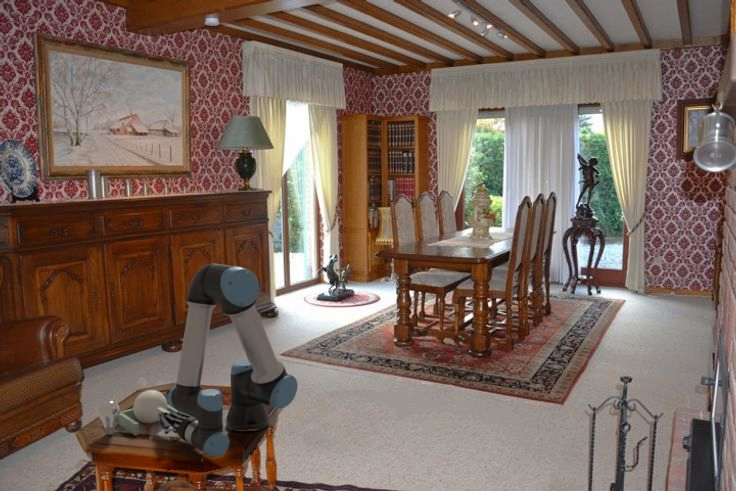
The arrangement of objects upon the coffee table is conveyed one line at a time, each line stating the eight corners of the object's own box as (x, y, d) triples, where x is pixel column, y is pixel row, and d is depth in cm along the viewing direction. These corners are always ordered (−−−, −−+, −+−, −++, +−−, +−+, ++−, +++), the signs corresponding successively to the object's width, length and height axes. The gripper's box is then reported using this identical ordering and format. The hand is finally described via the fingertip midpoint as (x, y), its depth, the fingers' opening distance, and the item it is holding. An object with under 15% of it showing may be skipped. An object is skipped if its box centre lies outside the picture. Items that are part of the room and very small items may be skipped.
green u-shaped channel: (181, 422, 223) (180, 411, 222) (135, 435, 211) (135, 424, 210) (161, 411, 233) (161, 401, 232) (117, 423, 220) (117, 412, 220)
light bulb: (112, 440, 207) (111, 405, 205) (94, 438, 208) (93, 403, 207) (124, 432, 213) (124, 398, 212) (106, 430, 215) (105, 396, 213)
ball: (178, 395, 225) (158, 396, 232) (152, 385, 217) (133, 385, 224) (167, 427, 219) (147, 427, 226) (141, 418, 212) (121, 417, 218)
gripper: (175, 448, 195) (141, 426, 211) (212, 437, 204) (176, 416, 221) (175, 425, 194) (141, 405, 211) (211, 415, 204) (176, 396, 220)
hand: (159, 411), depth 216 cm, fingers closed
